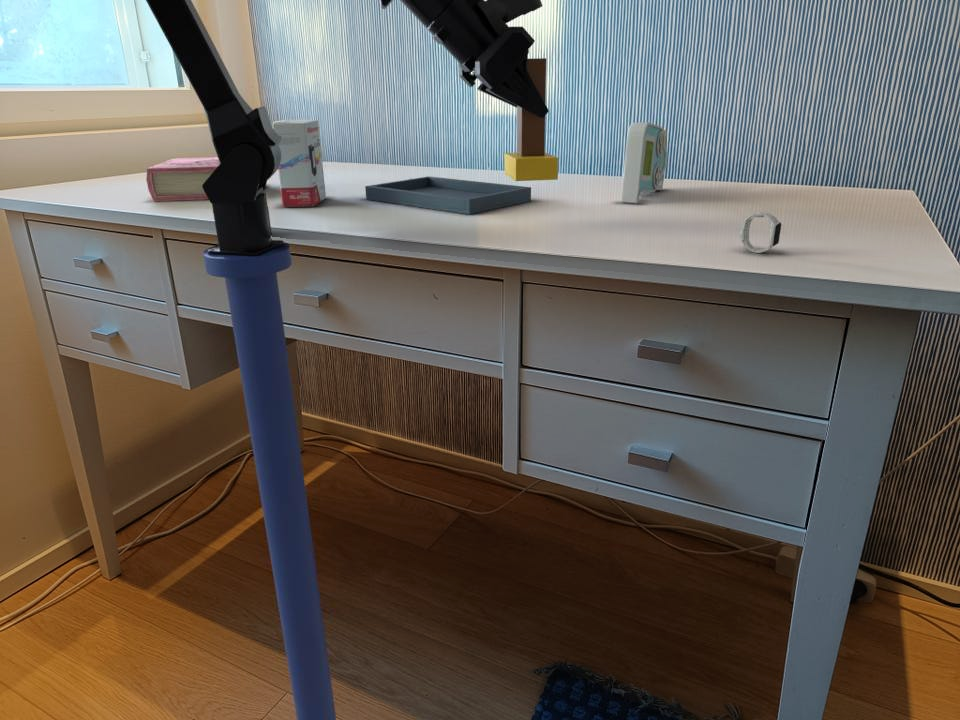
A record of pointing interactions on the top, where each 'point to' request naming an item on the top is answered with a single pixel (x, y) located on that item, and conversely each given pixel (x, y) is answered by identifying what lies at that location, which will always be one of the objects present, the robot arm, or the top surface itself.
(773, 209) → the top surface
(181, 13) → the robot arm
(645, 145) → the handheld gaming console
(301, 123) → the ink box
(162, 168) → the book
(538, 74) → the sponge brush
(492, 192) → the tray
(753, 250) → the smartwatch
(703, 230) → the top surface
